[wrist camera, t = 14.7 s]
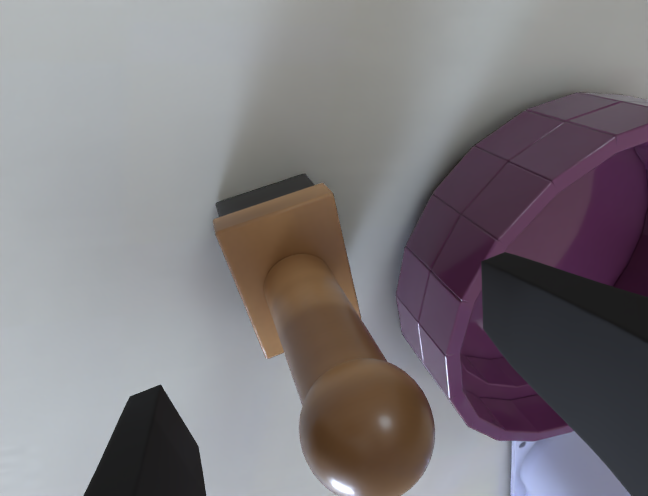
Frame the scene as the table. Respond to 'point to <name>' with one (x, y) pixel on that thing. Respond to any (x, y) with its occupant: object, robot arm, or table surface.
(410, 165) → the table surface
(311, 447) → the rubber stamp
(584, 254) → the bowl
